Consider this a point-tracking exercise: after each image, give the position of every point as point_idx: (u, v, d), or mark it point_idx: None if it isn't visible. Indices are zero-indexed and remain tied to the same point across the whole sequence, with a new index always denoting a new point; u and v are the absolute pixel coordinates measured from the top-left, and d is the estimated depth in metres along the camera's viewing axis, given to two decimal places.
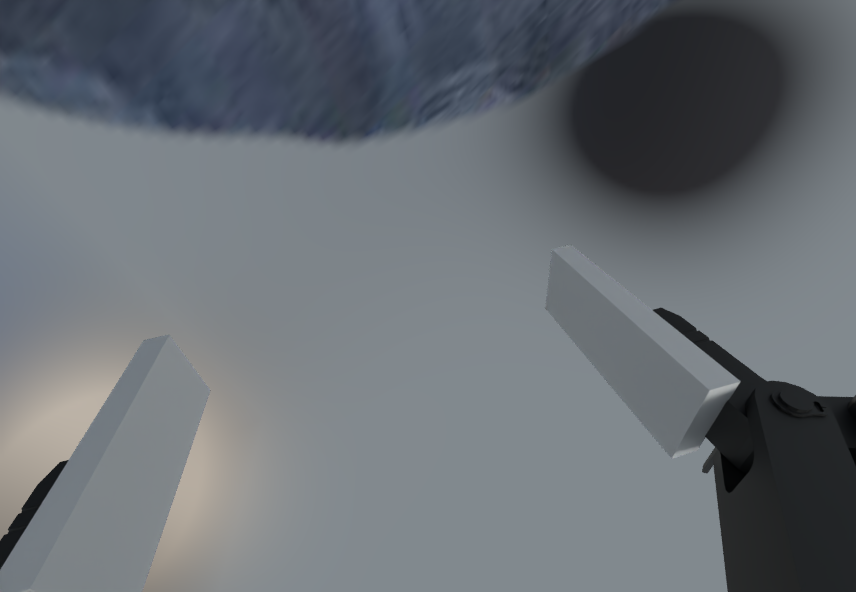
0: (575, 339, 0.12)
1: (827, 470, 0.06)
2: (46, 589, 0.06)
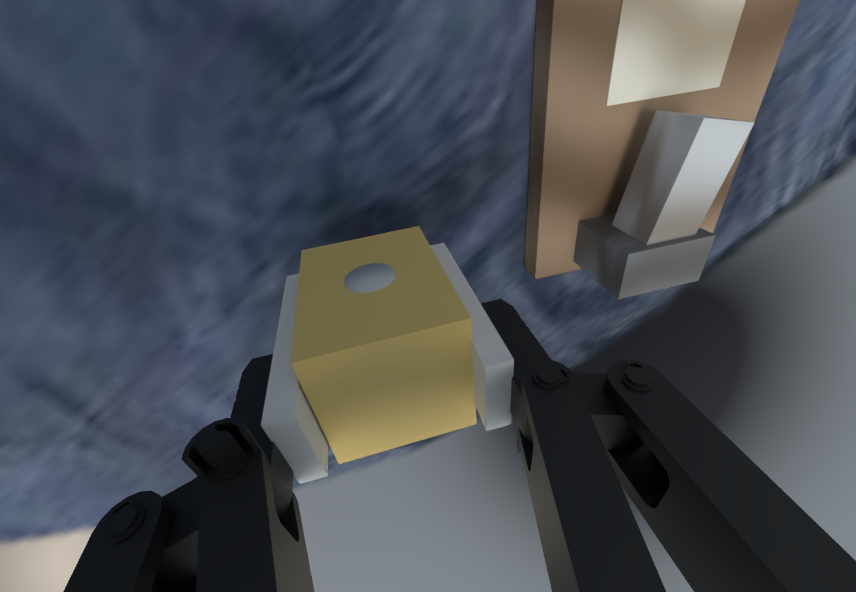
0: None
1: (576, 430, 0.07)
2: (298, 422, 0.08)
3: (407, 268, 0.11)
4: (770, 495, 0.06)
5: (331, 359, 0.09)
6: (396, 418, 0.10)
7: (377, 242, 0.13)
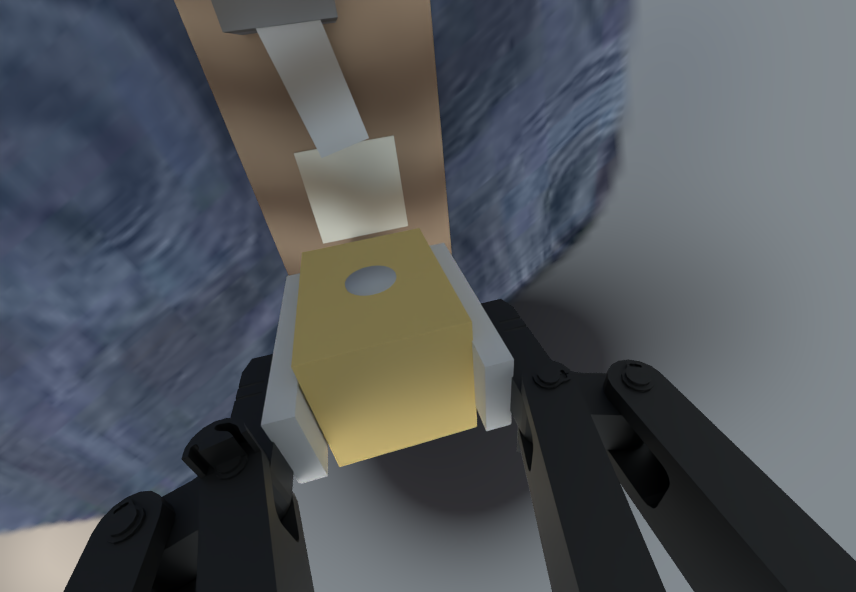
0: None
1: (576, 430, 0.07)
2: (298, 422, 0.08)
3: (408, 270, 0.11)
4: (770, 495, 0.06)
5: (331, 362, 0.09)
6: (397, 421, 0.10)
7: (377, 245, 0.13)
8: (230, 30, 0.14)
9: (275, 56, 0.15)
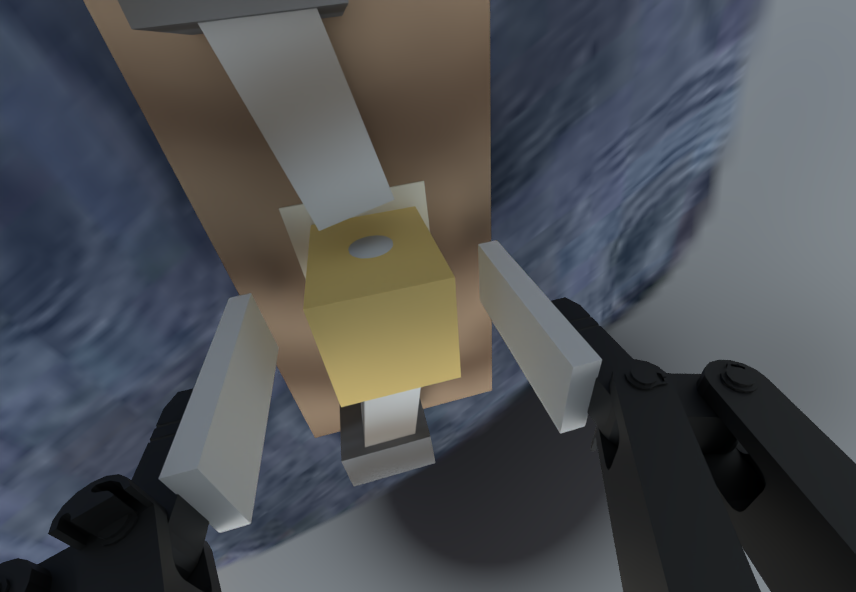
0: (499, 328, 0.13)
1: (672, 434, 0.07)
2: (205, 473, 0.08)
3: (403, 239, 0.13)
4: None
5: (336, 308, 0.10)
6: (391, 366, 0.12)
7: (377, 219, 0.15)
8: (147, 26, 0.08)
9: (236, 73, 0.09)
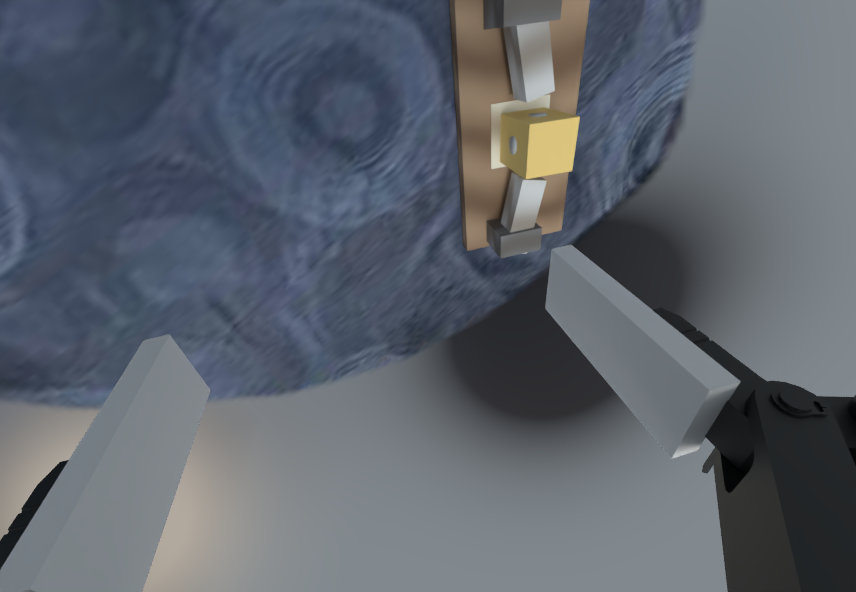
0: (575, 339, 0.12)
1: (828, 470, 0.06)
2: (46, 589, 0.06)
3: (549, 113, 0.32)
4: None
5: (539, 125, 0.29)
6: (548, 159, 0.31)
7: (531, 110, 0.34)
8: (507, 26, 0.27)
9: (521, 41, 0.28)
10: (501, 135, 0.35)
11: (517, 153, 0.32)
